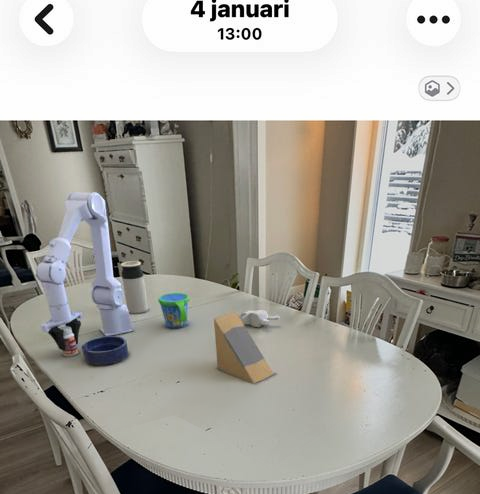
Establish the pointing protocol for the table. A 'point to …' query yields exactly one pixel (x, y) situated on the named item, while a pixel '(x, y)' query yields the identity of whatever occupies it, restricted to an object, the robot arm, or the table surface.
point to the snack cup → (174, 309)
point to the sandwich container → (238, 350)
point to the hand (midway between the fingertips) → (68, 346)
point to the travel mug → (134, 287)
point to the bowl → (105, 350)
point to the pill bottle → (69, 342)
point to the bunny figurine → (257, 318)
